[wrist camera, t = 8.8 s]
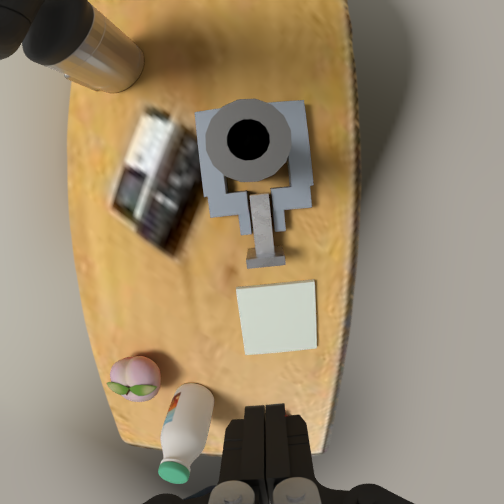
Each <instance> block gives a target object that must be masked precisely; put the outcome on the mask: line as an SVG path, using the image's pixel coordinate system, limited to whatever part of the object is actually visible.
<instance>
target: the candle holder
mask: <svg viewBox="0 0 504 504" xmlns="http://www.w3.org/2000/svg"><path fill="white" fill-rule="evenodd" d="M205 139H206V152H207V154H208V156H209V158H210V160H211V162H212V164H213V166H214V167H215V168H217V169H218V170H219V171H220V172H221V173H222V174H223V175H224V176H226V177H229V178H231V179H234V180H237V181H240V182H256V181H261V180H263V179H265V178H267V177H270V176H272V175H274V174H275V173H276V172H277V171H278V170H279V169H280V168H281V167H282V166H283V165H284V164H285V163H286V160H287V158H288V155H289V153H290V150H291V147H292V141H291V129H290V127H289V125H288V123H287V121H286V119H285V117H284V115H283V114H282V113H281V112H279V111H278V110H277V109H276V108H275V107H274V106H273V105H271V104H269V103H266V102H263V101H260V100H257V99H240V100H236V101H234V102H232V103H229V104H227V105H225V106H223V107H222V108H221V109H220V110H219V111H218V112H217V113H216V114H215V115H214V116H213V117H212V118H211V121H210V123H209V126H208V128H207V131H206V134H205Z"/></svg>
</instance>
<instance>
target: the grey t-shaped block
mask: <svg viewBox="0 0 504 504" xmlns="http://www.w3.org/2000/svg"><path fill="white" fill-rule="evenodd" d="M250 204H251V213H252V222H253V231H254V240H255V248H251V249H248V252H247V258H246V262H247V269H249V268H259V267H270V266H280V265H286V264H285V255H284V251H283V248H282V245H281V246H274V243H273V233H272V222H271V213H270V203H269V194H268V193H260V194H250Z"/></svg>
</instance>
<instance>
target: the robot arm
mask: <svg viewBox="0 0 504 504" xmlns="http://www.w3.org/2000/svg"><path fill="white" fill-rule="evenodd" d="M21 43H22V46H23V51H24V53H25V55H26V56H27V57H28V58H29V59H30V60H32V61H33V62H36V63H38V64H41V65H44V66H46V67H49V68H51V69H54V70H56V71H59V72H61V73H64V76H65V78H66V79H68V80H70V81H73V82H75V83H78V84H80V85H83V86H85V87H87V88H90V89H92V90H94V91H98V90H102V91H105V92H108V93H117V92H120V91H123V90H125V89H127V88H128V87H130V86H131V85H132V84H133V83H134V82H135V81H136V80H137V79H138V77H139V76H140V74H141V72H142V70H143V66H144V55H143V53H142V51H141V49H140V48H139V47H138V46H137V45H136V44H135V43H134V42H133V41H132V40H131V39H130V38H128V37H127V36H126V35H125V34H124V33H123V32H122V31H121V30H120V29H119V28H117V27H116V26H115V25H114V24H113V23H112V22H111V21H110V20H108V19H107V18H106V17H105V16H104V15H103V14H102V13H100V12H99V11H98V10H97V9H96V8H95V7H94V6H92V5H91V4H90V3H89V2H88V1H87V0H0V60H1V59H4V58H7V57H9V56H10V55H12V54H13V53H15V52H16V50H17V49H18V48H19V46H20V45H21ZM270 503H271V504H414V503H412V502H410V501H407V500H406V499H403V498H402V497H400V496H398V495H396V494H394V493H392V492H390V491H388V490H386V489H384V488H383V487H381V486H378V485H375V484H362V485H358V486H356V487H354V488H352V489H351V490H350V491H343V490H334V489H329V488H326V487H324V486H322V485H321V484H320V483H319V482H318V481H317V480H316V478H315V476H314V470H313V464H312V457H311V450H310V444H309V438H308V431H307V425H306V422H305V421H304V420H303V419H302V417H301V416H300V415H291V416H285V405H284V403H282V404H271V405H266V413H265V406H264V405H259V406H245V413H244V419H237V420H232V421H231V422H230V424H229V425H228V427H227V428H226V431H225V438H224V446H223V454H222V461H221V469H220V477H219V482H218V485H217V486H216V487H215V488H214V489H213V490H212V491H211V492H210V493H208V494H207V495H204V496H202V497H197V498H192V499H187V500H182V499H181V498H180V497H178V496H176V495H173V494H159V495H156V496H154V497H153V498H151V499H149V500H148V501H147V502H145V503H143V504H270Z"/></svg>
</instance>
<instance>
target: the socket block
mask: <svg viewBox="0 0 504 504" xmlns="http://www.w3.org/2000/svg"><path fill="white" fill-rule="evenodd" d="M269 104H271V105H273V106H274V107H275V108H276V109H277V110H278V111H279V112H281V113H282V114H283V115H284V117H285V119H286V121H287V123H288V125H289V127H290V129H291V141H292V147H291V150H290V153H289V155H288V158H287V164H288V173H289V183H290V186H287V187H277V188H271V197H272V206H273V209H272V210H273V220H274V229H275V232H278V231H286V228H285V217H284V210H288V209H299V208H310V207H312V203H311V192H310V186H312V185H313V174H312V164H311V155H310V146H309V137H308V128H307V120H306V113H305V105H304V100H300V101H284V102H272V103H269ZM220 109H221V108H219V109H213V110H206V111H200V112H195V121H196V130H197V140H198V149H199V158H200V167H201V175H202V183H203V191H204V197H206V196H208V202H209V210H210V218H212V217H221V216H230V215H239V224H240V232H241V235H248V234H252V226H251V217H250V211H249V202H248V193H247V191H238V192H230V193H228V188H227V180H226V176H224V175H223V174H222V173H221V172H220V171H219V170H218V169H217V168H215V167H214V166H213V164H212V162H211V160H210V158H209V156H208V154H207V152H206V139H205V134H206V131H207V128H208V126H209V123H210V121H211V118H212V117H213V116H214V115H215V114H216V113H217V112H218V111H219V110H220Z"/></svg>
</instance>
